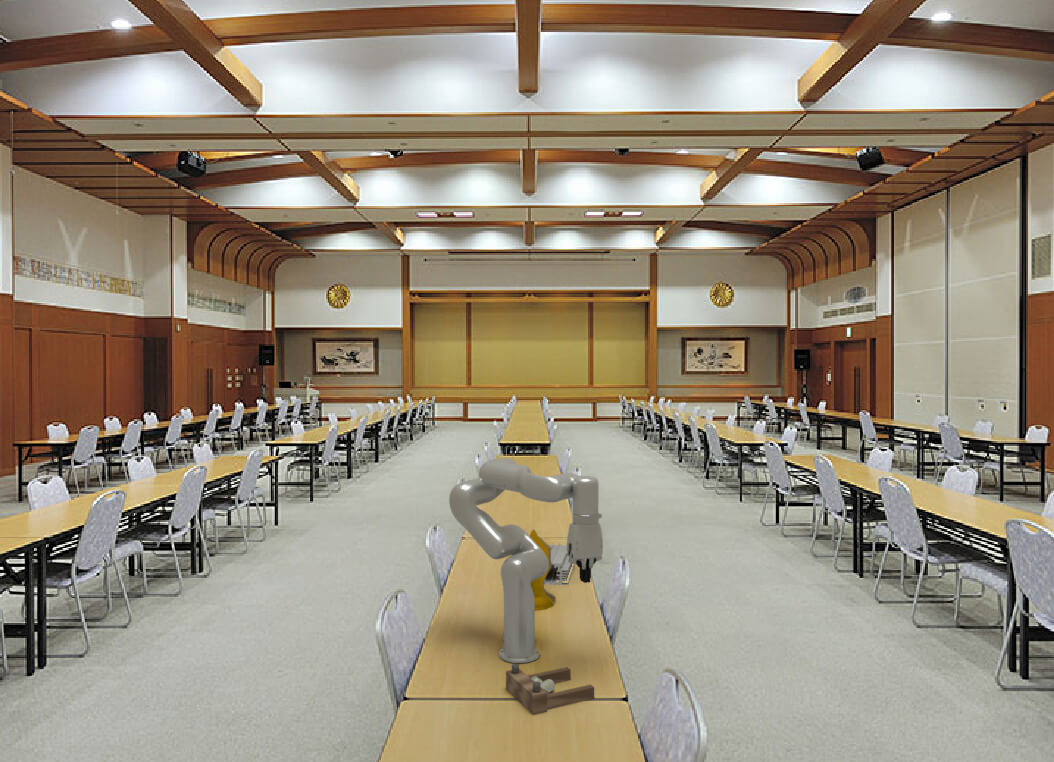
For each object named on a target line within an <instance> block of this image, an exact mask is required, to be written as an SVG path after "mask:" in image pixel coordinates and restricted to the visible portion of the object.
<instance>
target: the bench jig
mask: <svg viewBox="0 0 1054 762" xmlns="http://www.w3.org/2000/svg"><path fill="white" fill-rule="evenodd" d="M571 670H572V669H571V668H569V667H568V666H565V667H561V668H556V669H551V670H547V671H543V672H538V673H536V672H535V673H533V674H528V675H527V674H526V673H525V672H524V671H523V670H521V669H520V663H513V664H511V669H510V670H506V671H505V689H506V690H507V692H509V694H511V695H512V696H513V697H514V698H515V699H516V700H517V701H518V702H519V703H521V705H522V706H523V707H525V708H526V709H527V710H528V712H530V713H531V715H533V716H534V715H538V714H541V713H546V712H548V710H550V709H553V708H559V707H563V706H567V705H572V704H577V703H581V702H583V701H588V700H589V701H590V700H592V699H595V687H594V685H592V684H586V685H582V686H578V687H573V688H569V689H564V690H560V691H555V692H550V693H548V694H547V692H546V691H545V690H544V689H542V688H541V687H540V682H534V681H533V680H532V679H531V678H532V677H534V676H536V677H538V678H540V679H541V680H542V682H544V681H545V680H547V679H551V680H552V681H553V682H554V684H559V683H564V682H567V681H568V682H569V681H571V675H572V674H571V673H572V672H571Z"/></svg>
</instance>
